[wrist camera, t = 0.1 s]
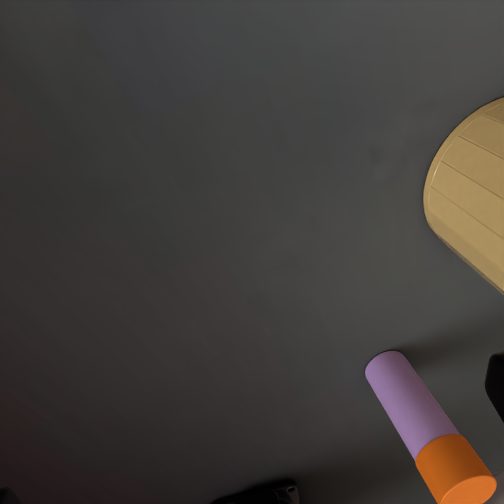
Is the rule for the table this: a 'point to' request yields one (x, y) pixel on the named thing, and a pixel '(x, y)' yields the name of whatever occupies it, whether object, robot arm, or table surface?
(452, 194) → the pen pot
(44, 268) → the table surface
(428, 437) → the glue stick
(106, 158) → the table surface
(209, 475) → the table surface
